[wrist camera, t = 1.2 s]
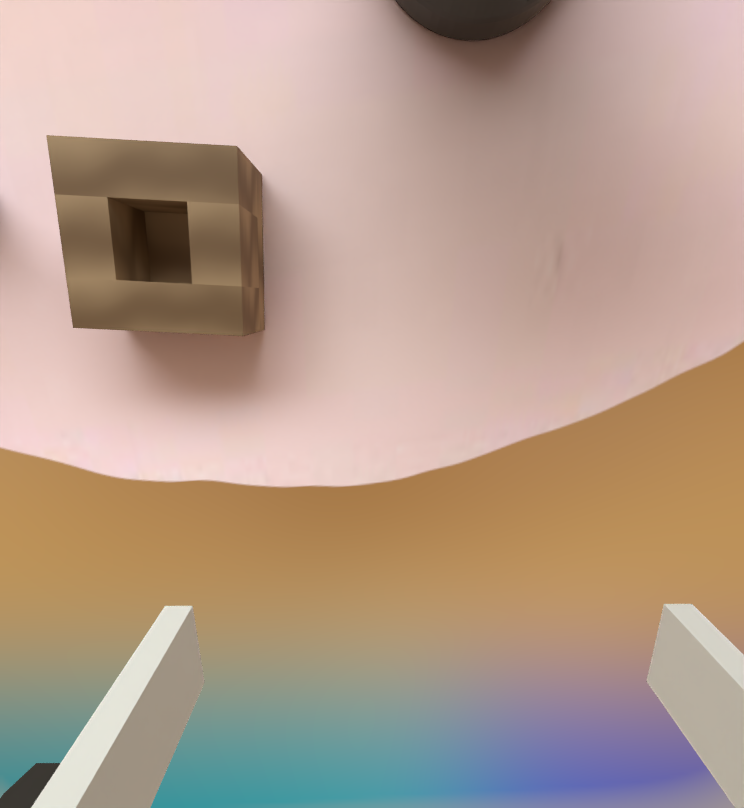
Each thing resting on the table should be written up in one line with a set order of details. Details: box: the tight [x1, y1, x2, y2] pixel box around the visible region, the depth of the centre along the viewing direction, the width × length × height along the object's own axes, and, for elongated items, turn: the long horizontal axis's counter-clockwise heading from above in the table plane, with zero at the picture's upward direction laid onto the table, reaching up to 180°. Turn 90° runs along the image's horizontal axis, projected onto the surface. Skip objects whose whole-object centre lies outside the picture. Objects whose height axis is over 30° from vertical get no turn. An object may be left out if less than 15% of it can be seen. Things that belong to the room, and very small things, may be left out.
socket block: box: [47, 135, 265, 336], centre depth 30 cm, size 12×12×6 cm
